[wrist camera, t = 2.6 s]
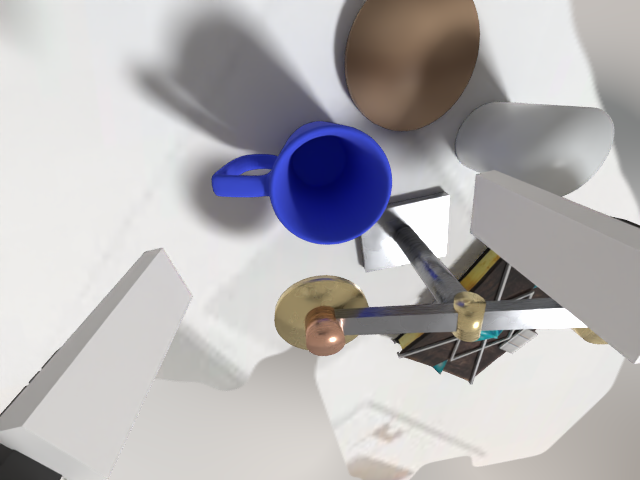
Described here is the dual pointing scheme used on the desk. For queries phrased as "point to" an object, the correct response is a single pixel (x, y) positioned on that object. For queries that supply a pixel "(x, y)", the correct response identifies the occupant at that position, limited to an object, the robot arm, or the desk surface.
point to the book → (472, 357)
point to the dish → (410, 59)
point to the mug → (317, 182)
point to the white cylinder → (537, 143)
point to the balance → (447, 316)
